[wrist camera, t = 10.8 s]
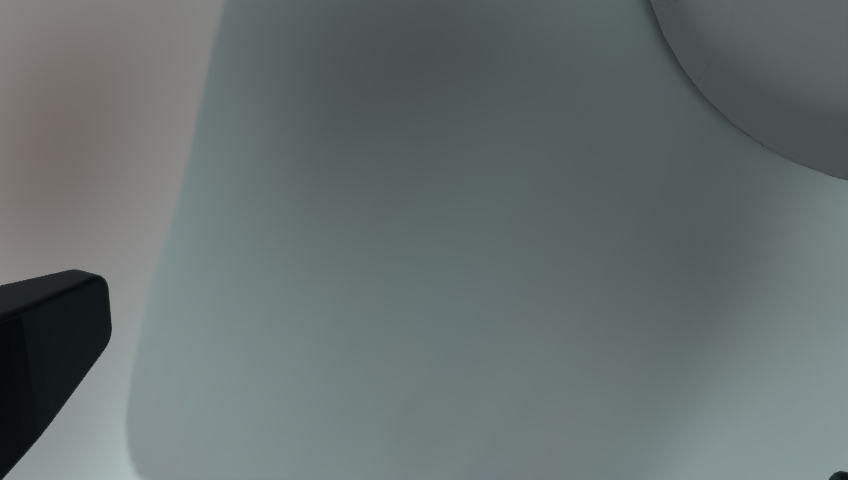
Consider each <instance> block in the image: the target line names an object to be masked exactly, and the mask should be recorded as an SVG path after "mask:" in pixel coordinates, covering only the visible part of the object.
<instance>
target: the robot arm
mask: <svg viewBox="0 0 848 480" xmlns="http://www.w3.org/2000/svg"><path fill="white" fill-rule="evenodd" d="M111 332H112V324H111V312H110V301H109V289H108V284H107V282H106V280H105V279H104V278H103V277H101V276H100V275H97V274H93V273H89V272H85V271H81V270H75V269H74V270H67V271H63V272H58V273H54V274H50V275H45V276H41V277H36V278H32V279H27V280H23V281H19V282H15V283H10V284H5V285H1V286H0V480H2V479H3V478H4V477H5V476H6V475H7V474H8V473H9V471H10V470H11V469H12V468H13V467H14V466H15V465H16V464H17V463H18V461H19V460H20V459H21V458H22V457H23V456H24V455H25V453H27V451H28V450H29V449H30V448H31V447H32V446H33V444H34V443H35V442H36V441H37V440H38V439H39V437H40V436H41V435H42V433H43V432H44V431H45V429H46V428H47V427H48V426H49V424H50V423H51V422H52V421H53V419H54V418H55V417H56V415H57V414H58V412H59V411H60V410H61V408H62V407H63V406H64V404H65V403H66V402H67V400H68V399H69V397H70V396H71V395H72V393H73V392H74V391H75V389H76V388H77V387H78V385H79V384H80V382H81V381H82V380H83V378H84V377H85V376H86V374H87V373H88V371H89V370H90V368H91V367H92V366H93V365H94V363H95V362H96V361H97V359H98V358H99V357H100V355H101V354H102V352H103V351H104V349H105V348H106V346H107V345H108V343H109V340H110V337H111ZM829 480H848V472H844V471H839V472H836V473H834V474H833V475H832V476H831V477H830V478H829Z"/></svg>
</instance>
